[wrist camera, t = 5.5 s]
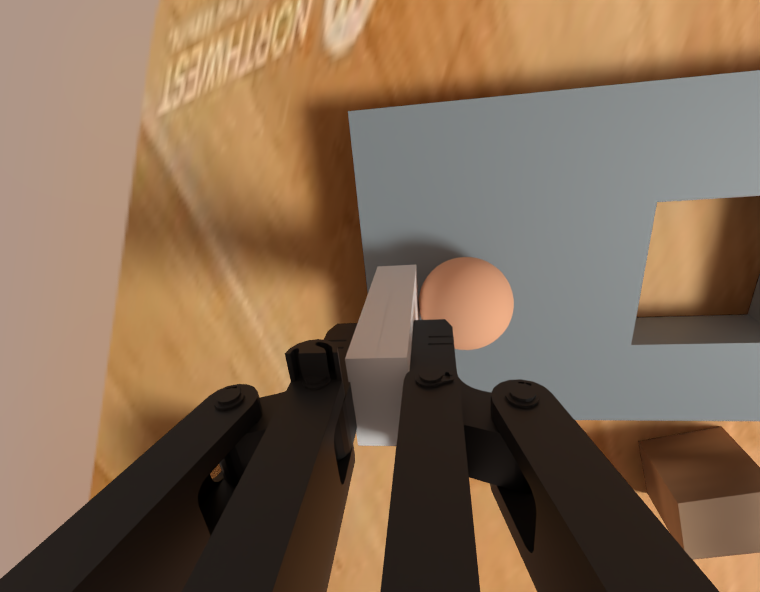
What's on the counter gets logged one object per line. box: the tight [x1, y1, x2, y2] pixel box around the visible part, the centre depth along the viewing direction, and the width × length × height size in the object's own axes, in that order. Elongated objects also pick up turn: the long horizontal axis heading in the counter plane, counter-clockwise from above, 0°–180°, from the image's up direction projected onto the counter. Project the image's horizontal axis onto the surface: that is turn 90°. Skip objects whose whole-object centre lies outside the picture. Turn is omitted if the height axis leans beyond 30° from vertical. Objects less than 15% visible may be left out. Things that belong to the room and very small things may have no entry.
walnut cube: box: [638, 426, 760, 560], centre depth 21 cm, size 4×4×4 cm
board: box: [348, 70, 760, 421], centre depth 17 cm, size 20×14×2 cm
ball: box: [419, 257, 514, 350], centre depth 15 cm, size 4×4×4 cm
